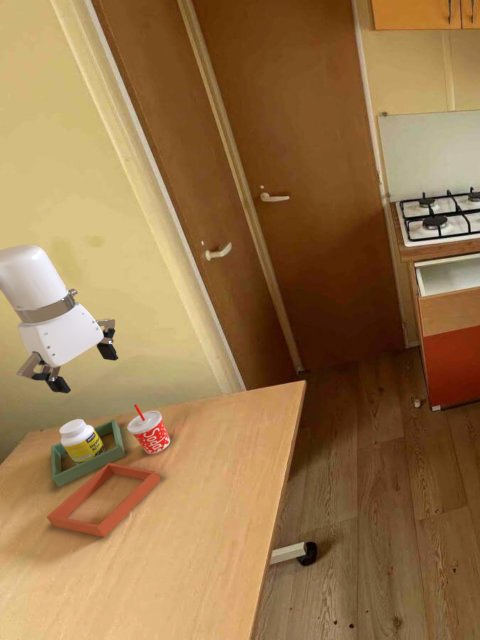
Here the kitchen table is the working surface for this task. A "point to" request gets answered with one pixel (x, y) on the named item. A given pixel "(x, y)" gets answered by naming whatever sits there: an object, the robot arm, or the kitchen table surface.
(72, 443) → the supplement bottle
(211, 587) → the kitchen table surface
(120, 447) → the bin
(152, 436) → the beverage cup
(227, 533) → the kitchen table surface
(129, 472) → the bin
